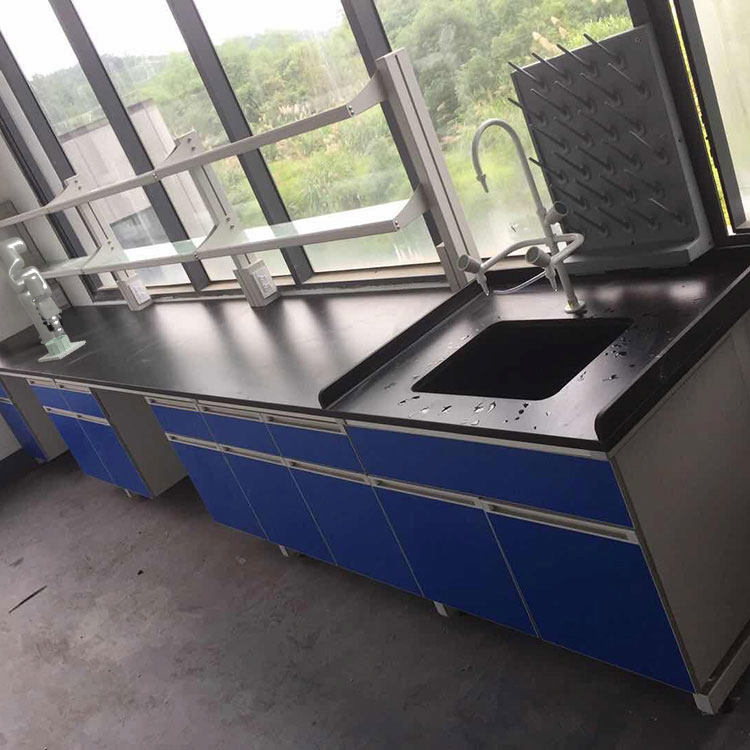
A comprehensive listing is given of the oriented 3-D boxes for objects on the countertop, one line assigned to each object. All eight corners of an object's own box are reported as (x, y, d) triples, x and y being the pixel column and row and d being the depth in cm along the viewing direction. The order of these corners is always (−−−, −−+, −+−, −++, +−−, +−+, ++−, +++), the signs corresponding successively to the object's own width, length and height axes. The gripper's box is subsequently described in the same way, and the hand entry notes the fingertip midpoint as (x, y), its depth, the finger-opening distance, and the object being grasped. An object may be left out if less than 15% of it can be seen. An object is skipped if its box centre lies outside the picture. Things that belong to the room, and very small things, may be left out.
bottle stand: (39, 362, 414) (32, 349, 411) (65, 346, 427) (58, 334, 425) (60, 359, 404) (52, 346, 401) (86, 343, 417) (79, 330, 415)
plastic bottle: (58, 348, 430) (40, 314, 422) (60, 344, 436) (42, 311, 429) (70, 343, 430) (52, 309, 423) (71, 340, 437) (54, 307, 429)
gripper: (32, 303, 415) (48, 334, 421) (57, 290, 428) (73, 320, 434) (23, 305, 419) (40, 336, 425) (49, 292, 432) (64, 322, 438)
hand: (56, 328), depth 430 cm, fingers closed on plastic bottle, 6 cm apart
